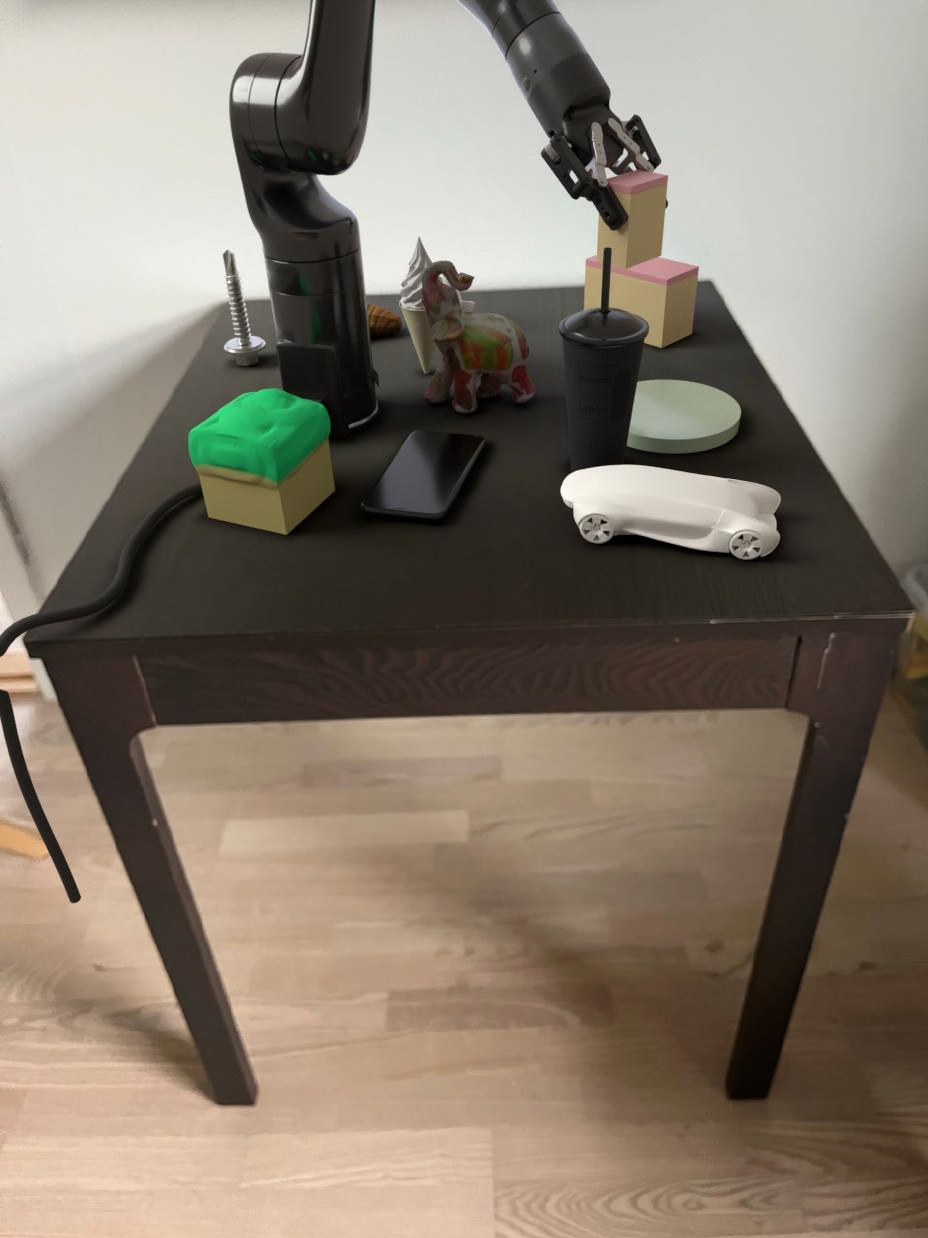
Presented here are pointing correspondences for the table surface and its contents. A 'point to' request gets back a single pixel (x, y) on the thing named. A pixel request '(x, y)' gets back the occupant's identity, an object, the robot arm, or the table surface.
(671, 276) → the cake
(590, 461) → the drinking cup
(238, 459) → the cake
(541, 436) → the table surface
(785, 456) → the table surface
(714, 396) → the plate
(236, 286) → the screw
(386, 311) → the croissant
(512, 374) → the figurine
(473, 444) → the smartphone
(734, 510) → the toy car
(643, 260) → the cake slice
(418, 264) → the ice cream cone
